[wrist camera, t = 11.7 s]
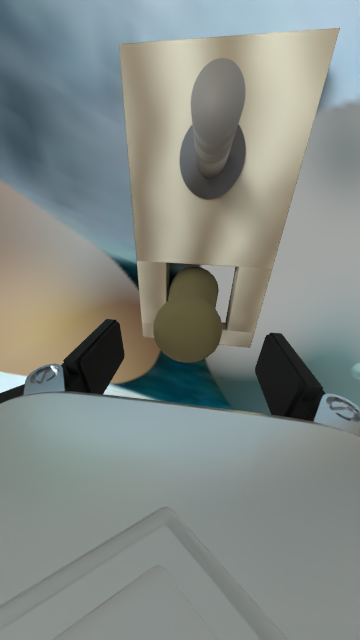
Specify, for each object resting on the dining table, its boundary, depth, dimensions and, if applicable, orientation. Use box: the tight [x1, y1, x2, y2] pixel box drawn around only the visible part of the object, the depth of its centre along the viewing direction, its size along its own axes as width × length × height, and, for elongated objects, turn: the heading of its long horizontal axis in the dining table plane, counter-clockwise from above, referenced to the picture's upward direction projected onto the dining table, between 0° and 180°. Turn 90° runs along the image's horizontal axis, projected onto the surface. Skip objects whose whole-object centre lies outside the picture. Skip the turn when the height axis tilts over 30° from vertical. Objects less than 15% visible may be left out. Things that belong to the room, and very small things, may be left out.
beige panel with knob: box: [119, 28, 340, 348], centre depth 14 cm, size 14×24×9 cm, turn 178°
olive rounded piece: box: [153, 267, 222, 363], centre depth 16 cm, size 6×6×11 cm
